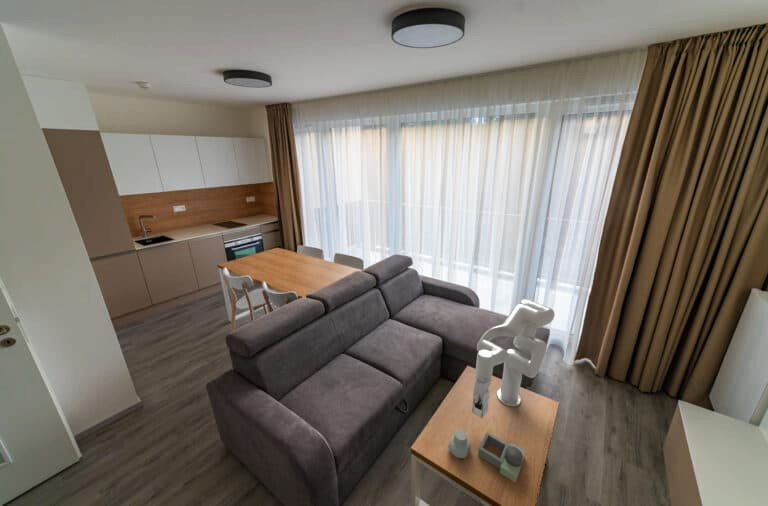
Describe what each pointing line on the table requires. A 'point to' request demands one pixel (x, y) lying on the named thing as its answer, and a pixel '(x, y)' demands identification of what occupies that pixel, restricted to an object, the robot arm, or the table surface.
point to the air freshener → (459, 444)
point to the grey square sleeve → (503, 456)
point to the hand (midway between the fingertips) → (480, 403)
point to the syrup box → (484, 402)
